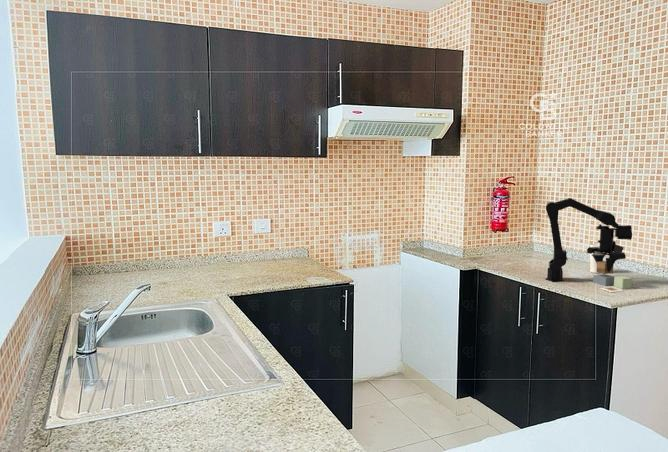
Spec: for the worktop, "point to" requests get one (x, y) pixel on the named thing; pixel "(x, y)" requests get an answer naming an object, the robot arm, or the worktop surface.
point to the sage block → (622, 282)
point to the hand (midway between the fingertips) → (604, 270)
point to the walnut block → (603, 267)
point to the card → (611, 289)
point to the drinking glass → (593, 260)
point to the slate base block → (603, 279)
